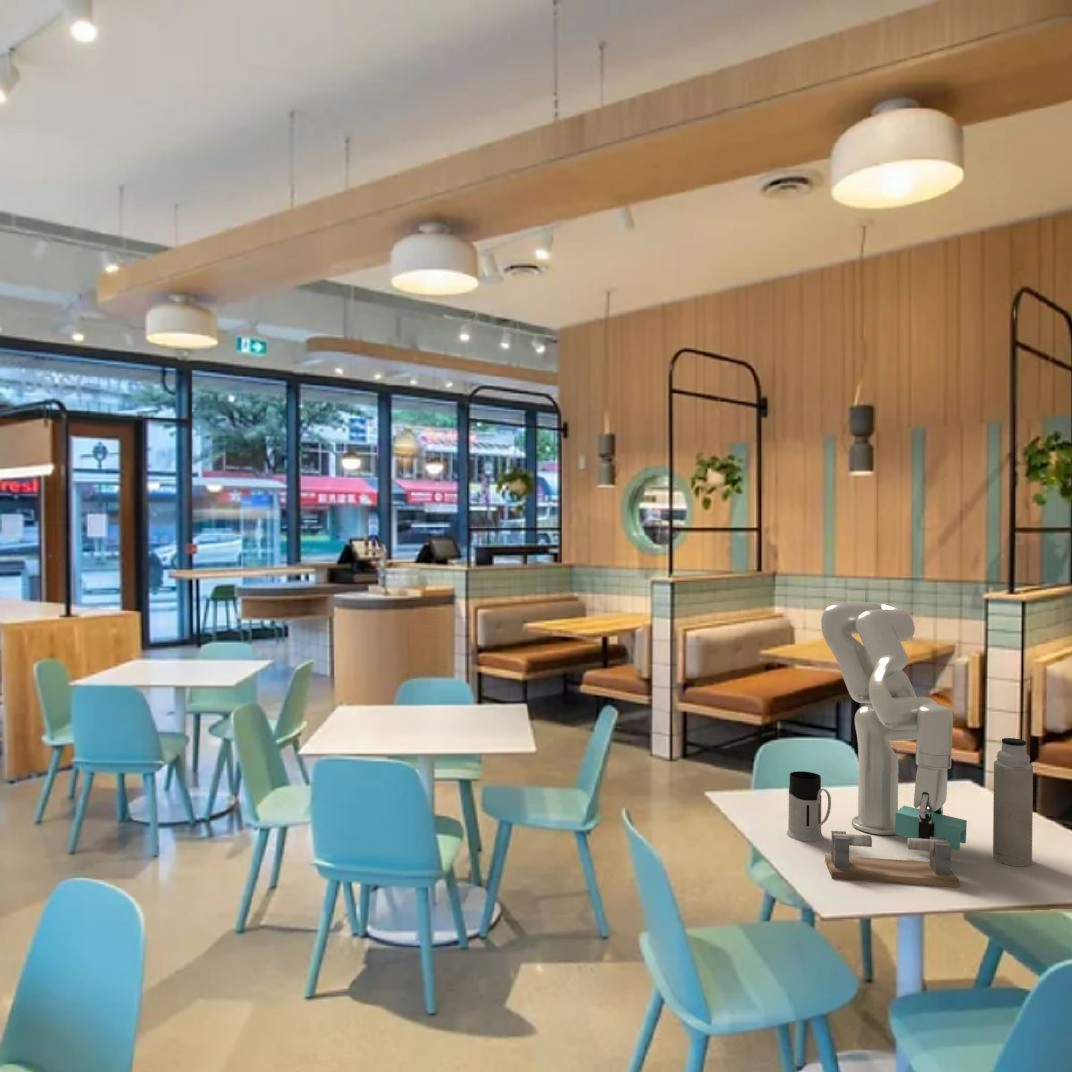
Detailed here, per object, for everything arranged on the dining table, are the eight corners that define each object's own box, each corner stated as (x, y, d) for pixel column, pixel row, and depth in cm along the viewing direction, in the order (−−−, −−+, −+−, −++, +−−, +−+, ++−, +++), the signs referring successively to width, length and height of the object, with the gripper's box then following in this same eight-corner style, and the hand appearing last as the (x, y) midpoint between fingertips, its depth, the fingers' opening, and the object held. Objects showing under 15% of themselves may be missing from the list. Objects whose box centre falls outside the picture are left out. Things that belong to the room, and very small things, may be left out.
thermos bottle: (986, 853, 208) (987, 735, 208) (1019, 853, 209) (1020, 735, 208) (1005, 866, 200) (1006, 743, 200) (1039, 866, 201) (1040, 743, 201)
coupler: (903, 826, 213) (903, 805, 212) (965, 842, 204) (966, 820, 203) (894, 834, 208) (895, 812, 208) (958, 850, 199) (959, 827, 199)
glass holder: (808, 827, 226) (809, 769, 226) (844, 846, 213) (845, 784, 212) (779, 831, 223) (779, 772, 223) (814, 850, 210) (814, 787, 210)
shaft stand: (824, 861, 203) (825, 825, 203) (945, 869, 199) (945, 833, 199) (831, 878, 193) (832, 840, 193) (958, 887, 189) (959, 848, 189)
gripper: (927, 747, 214) (924, 820, 215) (904, 763, 201) (901, 841, 202) (960, 753, 209) (957, 828, 210) (939, 771, 196) (936, 850, 197)
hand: (930, 834), depth 206 cm, fingers closed on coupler, 6 cm apart
